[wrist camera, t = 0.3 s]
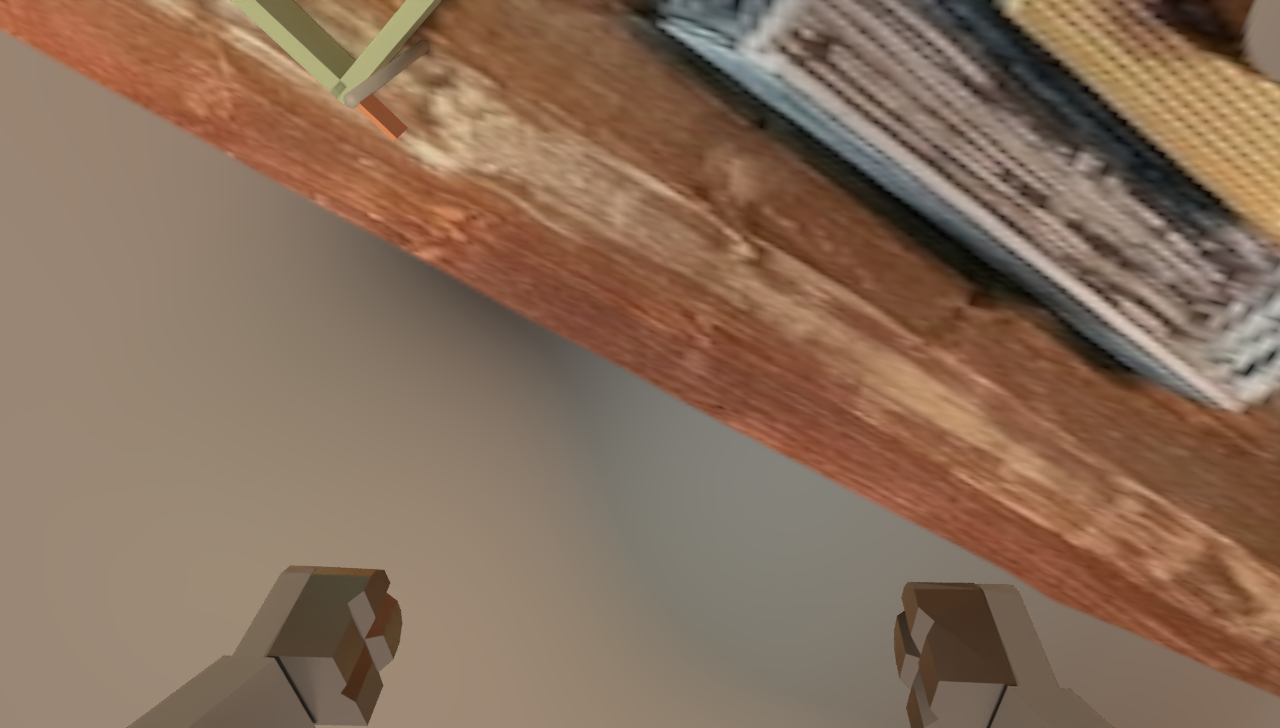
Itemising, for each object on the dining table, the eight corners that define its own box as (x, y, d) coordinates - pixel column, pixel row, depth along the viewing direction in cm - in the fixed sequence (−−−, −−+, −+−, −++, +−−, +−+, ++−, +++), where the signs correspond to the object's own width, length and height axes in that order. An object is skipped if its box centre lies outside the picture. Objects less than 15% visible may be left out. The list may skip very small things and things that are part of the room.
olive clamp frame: (234, -34, 50) (99, -1, 38) (329, -174, 45) (209, -184, 33) (408, 131, 55) (336, 203, 44) (508, 22, 51) (458, 71, 39)
